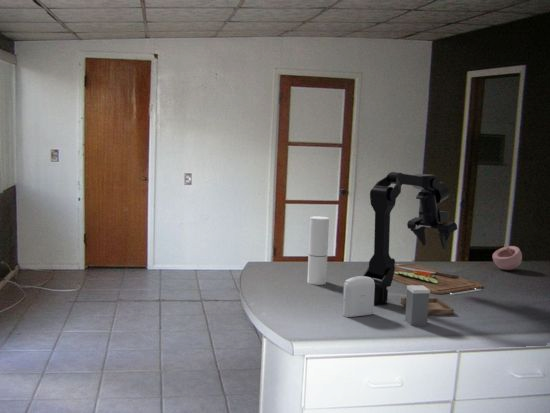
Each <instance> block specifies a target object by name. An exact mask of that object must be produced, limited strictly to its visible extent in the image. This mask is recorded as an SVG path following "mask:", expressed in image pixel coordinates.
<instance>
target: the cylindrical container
mask: <svg viewBox="0 0 550 413" xmlns="http://www.w3.org/2000/svg"><path fill="white" fill-rule="evenodd" d="M329 227H330V218H329V217H327V216H319V215H317V216H315V215H314V216H310V217H309V233H308V234H309V239H308V257H307V258H308V259H307V281H306V282H307V284H311V285H320V286H322V285H326V284H327V270H328V253H329V252H328V247H329Z"/></svg>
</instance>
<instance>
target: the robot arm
mask: <svg viewBox="0 0 550 413" xmlns="http://www.w3.org/2000/svg"><path fill="white" fill-rule="evenodd" d="M392 184H393V185H394V186H393V187H392V186H391V185H392ZM402 185H406V186H412V187H413V188H415V189H416V190H422V191H419V192H418V194H417V195H416V196H415V199H416V200H419V204H420V211H419V212H418V213H419V215H421V217H417V216H415V217H414V218H411V219H410V220H408V221H407V224H406V225H407V226H406V227H407V229H410V231H411V232H412V233H413V234H414V235H415V236H416V237H417V239H418V240H419V242H420V243H421V244H422V246H426V245H427V244H426V243H427V242H426V240H427V239H426V233H425V230H426V228H430V229H437V231H438V232H439V233H438V237H439V241H440V244H441V247H442V249H443V250H446V249H447V246H448V245H447V244H448V242H449V237H450V235H451V234H452V233H453V232H455V231H457V230H458V225H457V223H456V222H455V221H449V216H450V215H449V214H450V212H449V211H443V210H441V208H440V207H438V205H437V204H439V203H441V202H443V201H444V200H446V199H448V198H449V197H450V194H451V192H450V189H449V187H448V186H447V185H445V182H443V181H439V180H438V178H437V176H436V175H435V174H428V173H427V174H426V173H418V174H417V173H416V174H408V173H407V174H406V173H402V172H399V171H398V172H396V171H390V172H389V173H387V175H386V176H385V177H383V178H382V179H380V180H377V182H376V183H375V184H374V185H373V187H372V188H371V189H370V192H369V199H370V205H371V207H372V209H373V211H374V238H373V239H374V240H373V241H374V242H373V245H374V246H373V248H374V249H373V254H372V255H371V258H370V260H369V262H368V267H367V269H366V271H364V274H363V275H362V276H366V277H370V278H372V279H373V280H374V283H375V291H374V306H375V305H377V306H378V305H379V306H380V305H388V296H389V289H387V288H388V287H391V285H392V282H393V280H392V279H393V276H394V271H395V264H396V261H395V258H393V257H391V255H390V230H391V229H390V228H391V225H390V224H391V212H392V211H393V209H394V208H395V207H396V202H397V201H396V200H397V198H398V197H399V195H400V194H401V192H402ZM444 220H446V221H444ZM443 221H444V222H443ZM442 222H443V223H442Z"/></svg>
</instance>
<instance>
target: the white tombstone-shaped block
mask: <svg viewBox="0 0 550 413" xmlns="http://www.w3.org/2000/svg"><path fill="white" fill-rule="evenodd" d="M373 279H374V278H373ZM373 279H372V278H370V277H366V276H363V275H360V276H359V275H357V276H353V277H350V278H348V279H345V281H344V283H343V292H342V294H343V296H342V297H343V298H342V299H343V300H342V315H343V317H345V318H352V317H360V316H361V317H363V316H369V315H373V314H374V310H375V309H374V307H375V305H374V291H375V283H374V280H373Z"/></svg>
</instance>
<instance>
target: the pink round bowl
mask: <svg viewBox="0 0 550 413" xmlns="http://www.w3.org/2000/svg"><path fill="white" fill-rule="evenodd" d="M503 246H504V247H501V248H499V249H496V250H495V251H494V252H493V253H492V261H493V263H494V265H496V267H498V268H499V269H501V270H504V271H512V270H515V269H516V268H518V267H519V266H520V264H521V263H522V260H523V254H522V251H521V249H520V248H519V247H518V246H515V245H509V246H508V245H507V244H503Z"/></svg>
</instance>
